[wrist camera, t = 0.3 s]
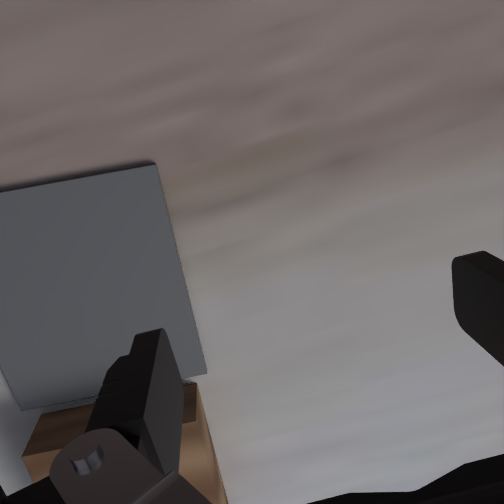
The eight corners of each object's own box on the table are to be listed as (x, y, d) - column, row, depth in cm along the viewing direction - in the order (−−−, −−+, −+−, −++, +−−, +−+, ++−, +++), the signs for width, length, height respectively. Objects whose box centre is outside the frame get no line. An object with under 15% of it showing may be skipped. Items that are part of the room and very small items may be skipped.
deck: (41, 414, 33) (21, 457, 29) (196, 383, 33) (196, 421, 30) (95, 535, 38) (84, 584, 35) (229, 506, 39) (232, 551, 35)
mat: (-72, 204, 26) (-76, 206, 26) (156, 163, 27) (155, 164, 27) (23, 407, 33) (21, 410, 32) (207, 370, 33) (207, 373, 33)
